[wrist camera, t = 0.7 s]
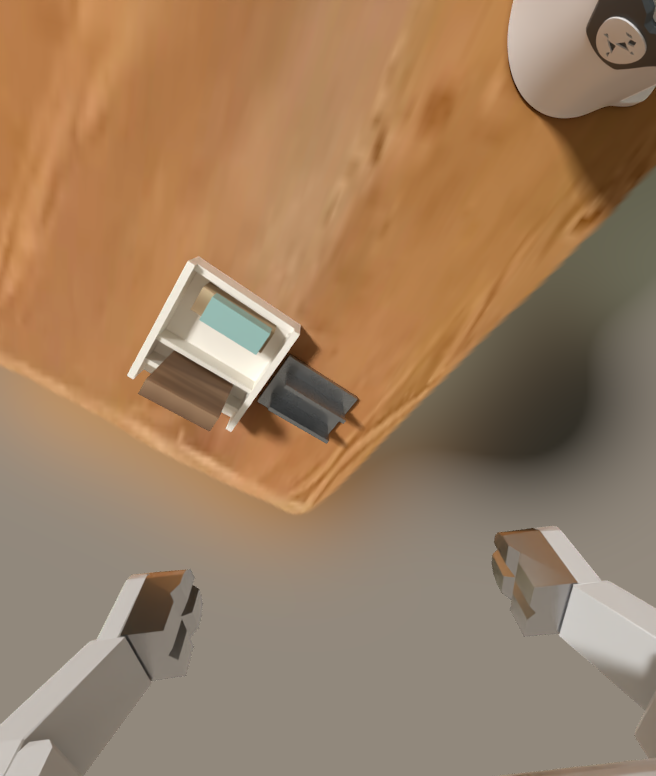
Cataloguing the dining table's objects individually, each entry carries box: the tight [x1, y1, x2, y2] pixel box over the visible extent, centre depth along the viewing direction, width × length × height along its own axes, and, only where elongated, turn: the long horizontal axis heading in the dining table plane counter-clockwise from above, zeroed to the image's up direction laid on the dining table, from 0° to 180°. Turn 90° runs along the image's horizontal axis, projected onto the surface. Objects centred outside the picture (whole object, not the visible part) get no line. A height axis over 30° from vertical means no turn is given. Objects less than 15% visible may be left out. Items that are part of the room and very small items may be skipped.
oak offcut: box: [190, 282, 276, 353], centre depth 42 cm, size 3×9×3 cm, turn 54°
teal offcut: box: [199, 293, 272, 355], centre depth 40 cm, size 3×7×2 cm, turn 54°
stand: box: [257, 354, 357, 444], centre depth 48 cm, size 8×11×5 cm
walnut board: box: [138, 350, 234, 431], centre depth 42 cm, size 2×8×10 cm, turn 54°
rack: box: [127, 256, 301, 431], centre depth 45 cm, size 16×14×4 cm
